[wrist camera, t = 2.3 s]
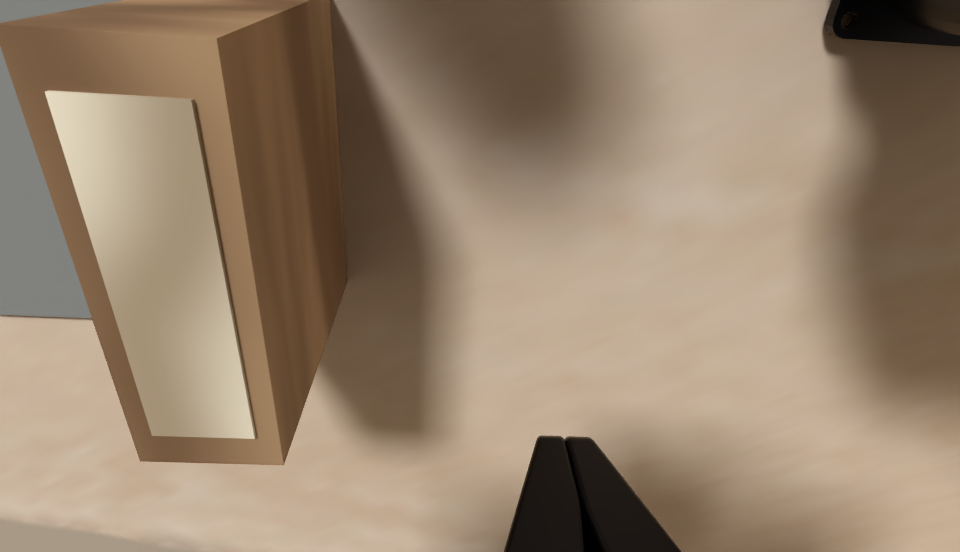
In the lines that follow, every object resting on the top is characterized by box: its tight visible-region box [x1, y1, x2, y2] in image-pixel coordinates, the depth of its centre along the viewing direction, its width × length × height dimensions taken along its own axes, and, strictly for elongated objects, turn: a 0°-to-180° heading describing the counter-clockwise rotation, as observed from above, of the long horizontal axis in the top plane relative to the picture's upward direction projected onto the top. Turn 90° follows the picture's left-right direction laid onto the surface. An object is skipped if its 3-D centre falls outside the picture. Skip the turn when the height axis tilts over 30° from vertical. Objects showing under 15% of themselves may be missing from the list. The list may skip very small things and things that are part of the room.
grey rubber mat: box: [0, 0, 121, 318], centre depth 19 cm, size 10×14×1 cm
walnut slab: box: [0, 0, 347, 465], centre depth 16 cm, size 4×10×9 cm, turn 176°
